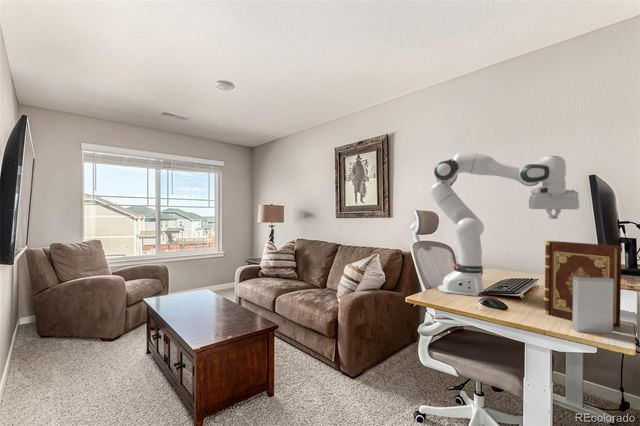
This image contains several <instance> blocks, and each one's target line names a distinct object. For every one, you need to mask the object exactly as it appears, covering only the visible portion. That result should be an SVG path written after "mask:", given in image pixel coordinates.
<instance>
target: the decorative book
mask: <svg viewBox="0 0 640 426" xmlns="http://www.w3.org/2000/svg"><path fill="white" fill-rule="evenodd" d="M544 246H545V251H544V252H545V253H544V254H543V257H544V259H545V260H544V261H545V262H544V265H543V268H545V269H544V286H543V290H544V295H543V300H544V308H543V314H545V315H548V316H553V317H557V318H560V319H564V320H569V321H571V322H573V276H590V277H609V278H613V279H614V290H613V325H614V326H613V327H617V326H618V327H617V328H620V326H621V295H622V294H621V288H622V287H621V286H622V285H621V282H622V246H621V245H611V244H610V245H609V244H598V243H597V244H596V243H583V242H569V241H558V240H545V241H544ZM614 329H615V328H613V331H614Z"/></svg>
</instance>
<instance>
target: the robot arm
mask: <svg viewBox="0 0 640 426" xmlns="http://www.w3.org/2000/svg"><path fill="white" fill-rule="evenodd" d="M566 166H567V165H566V161H565V159H564V158H563V157H561V156H558V155H548V156H547V155H546V156H545V157H543V158H542V159H540V160H538V161H535V162H533V163H529V164H527V165H525V166H523V167H516V166H512V165H506V164H502V163H500V162H499V161H497V160H496V159H494V158H493V157H492V156H489V155H486V154H482V153H477V152H468V151H467V152H466V151H464V152H463V151H462V152H458V153H456V154H455V155H454V157H453V158H452V159H447V160H442V161H440V162H438V163H436V165H435V167H434V171H433V174H434V176H435V178H436V182H435V183H434V184H433V185H432V186H431V188H429V189H430V191H429V192H430V194H431V196H432V198H433V200H434V201H435V203H436V204H437V205H438V207H439V208H440V209H441V210H442V211H441V212H443V213H444V214H445V216H446V217H447V218H448V219H449V220H451V221H452V222H453V224H454V225H456V226H455V230H456V240H457V246H458V247H457V248H458V249H457V250H458V258H457V259H458V263H451V267H452V268H454V270H453V271H452V272H450V273H448V274H447V275H446V276H444V277H443V280H442V284H439V285H438V286H437V289H438V290H439V291H440V292H442V293H446V294H453V295H463V296H464V295H465V296H473V297H477V296H480V295H479V293H480V292H483V291H485V289H484V284H483V275H484V274H483V273H484V269H483V267H484V266H483V263H482V261H483V259H482V258H483V256H482V255H483V250H482V249H483V248H482V244H481V243H482V242H481V241H482V240H481V236H482V234H483V233H484V230H485V227H484V223H483V222H482V221H481V219H479V217H478V216H477V215H476V214H475V213H474V212H473V211H472V210H471V209H470V207H468V206H467V204H465V203H464V201H463V200H462V198H460V197H459V195H458V194H457V193H456V192H455V191H454V190H453V187H452V186H453V184H454V183H455V182H456V181H457V179H458V174H460V173H466V174H471V175H476V176H496V177H501V178H505V179H511V180H515V181H517V182H519V183H520V184H522V185H524V186H525V187H533V186H537V185H538V184H540V183H541V184H542V185H541V186H539V187H538V188H532V189H531V190H530V194H531V195H529V198H528V208H529V209H530V210H546V213H547V215H548V219H549V220H558V218H559V215H560V213H561V212H562V211H561V210H578V209H579V208H580V201H579V192H578V191H576V190H575V189H567V188H566V187H567V186H566V184H567V181H566V174H567V167H566ZM553 210H554V214H553V213H552V212H553Z"/></svg>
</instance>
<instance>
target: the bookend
mask: <svg viewBox="0 0 640 426" xmlns="http://www.w3.org/2000/svg"><path fill="white" fill-rule="evenodd" d="M613 290H614V279H613V278H609V277H590V276H573V321H572V328H571V329H572V330H574V331H575V332H578V333H579V332H580V333H594V334H605V333H611V334H610V335H613V333H614V330H613V329H614V326H613Z"/></svg>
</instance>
